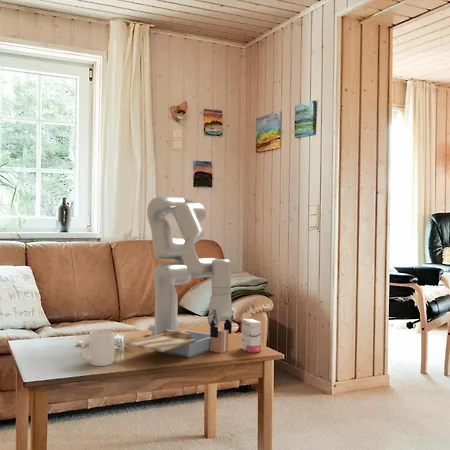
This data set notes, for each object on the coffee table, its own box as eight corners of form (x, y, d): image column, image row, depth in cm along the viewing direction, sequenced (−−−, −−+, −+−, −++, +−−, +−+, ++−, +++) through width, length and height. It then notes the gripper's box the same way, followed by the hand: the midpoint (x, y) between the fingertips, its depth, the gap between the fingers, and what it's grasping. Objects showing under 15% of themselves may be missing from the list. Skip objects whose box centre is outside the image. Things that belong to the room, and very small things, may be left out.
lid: (126, 344, 210) (126, 337, 210) (161, 335, 227) (161, 328, 227) (162, 351, 201) (162, 343, 201) (196, 341, 219) (196, 334, 219)
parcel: (210, 351, 226) (210, 330, 226) (217, 348, 231) (217, 328, 230) (221, 353, 224) (221, 332, 223) (228, 350, 228) (228, 330, 228)
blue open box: (154, 351, 224) (155, 338, 224) (185, 342, 241) (185, 330, 240) (188, 357, 215) (189, 344, 215) (218, 347, 232) (218, 335, 232)
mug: (75, 363, 203) (75, 332, 202) (106, 359, 210) (107, 329, 210) (85, 369, 196) (86, 337, 196) (118, 364, 203) (118, 333, 203)
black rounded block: (74, 346, 229) (75, 336, 229) (86, 342, 236) (87, 332, 236) (93, 349, 225) (93, 338, 225) (105, 345, 233) (105, 335, 233)
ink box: (261, 352, 227) (262, 322, 227) (249, 353, 225) (250, 322, 225) (251, 347, 235) (252, 318, 235) (240, 348, 233) (241, 318, 233)
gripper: (224, 288, 236) (224, 331, 236) (200, 292, 221) (200, 337, 221) (240, 289, 232) (240, 332, 232) (217, 294, 217) (217, 340, 217)
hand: (221, 335), depth 226 cm, fingers open, 9 cm apart
